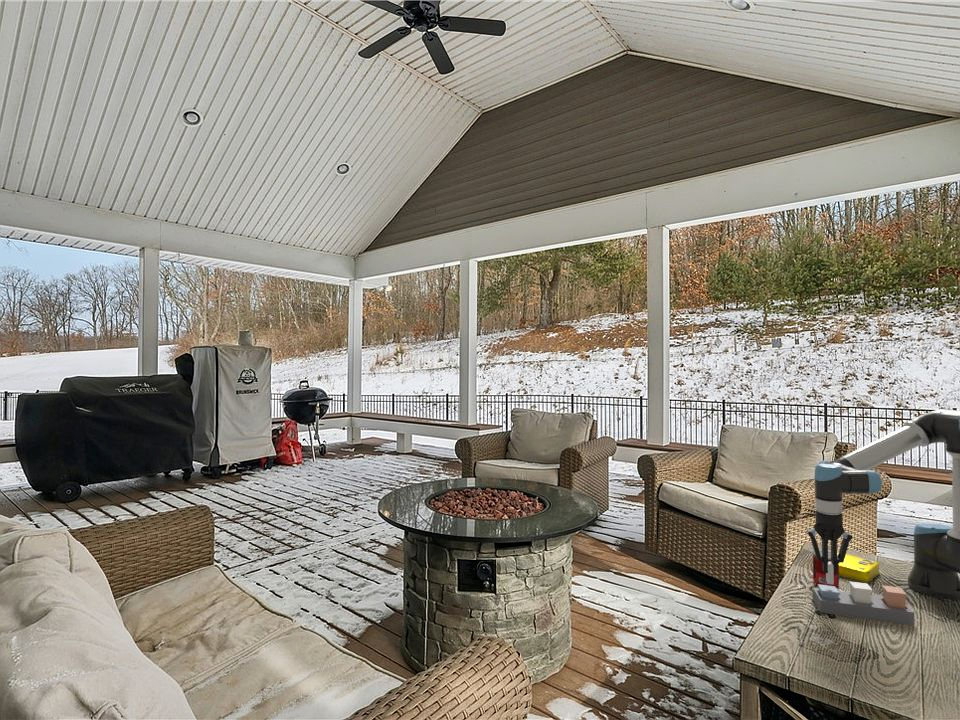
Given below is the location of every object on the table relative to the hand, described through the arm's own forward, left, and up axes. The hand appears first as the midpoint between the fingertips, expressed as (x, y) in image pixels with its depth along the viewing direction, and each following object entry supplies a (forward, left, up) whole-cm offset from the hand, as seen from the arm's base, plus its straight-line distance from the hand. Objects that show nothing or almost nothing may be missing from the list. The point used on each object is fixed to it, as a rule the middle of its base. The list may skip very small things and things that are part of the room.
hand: (829, 582), depth 175 cm
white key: (-9, 0, -5) cm, 10 cm away
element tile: (-16, -36, -9) cm, 40 cm away
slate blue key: (0, 0, -7) cm, 7 cm away
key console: (-9, 0, -8) cm, 12 cm away
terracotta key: (-18, 0, -5) cm, 18 cm away
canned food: (-4, -20, -9) cm, 22 cm away
